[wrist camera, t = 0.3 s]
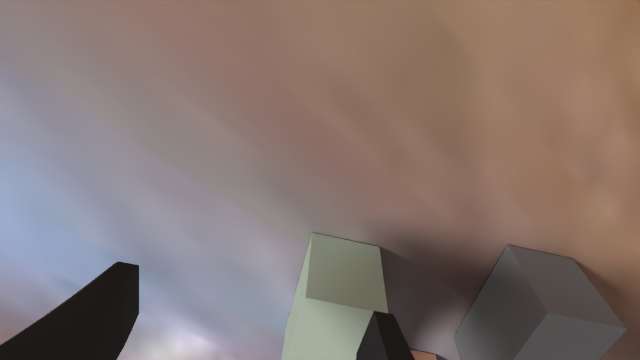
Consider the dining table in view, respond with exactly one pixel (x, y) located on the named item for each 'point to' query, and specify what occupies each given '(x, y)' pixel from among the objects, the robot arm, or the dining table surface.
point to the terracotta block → (423, 355)
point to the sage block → (334, 300)
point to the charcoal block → (537, 312)
